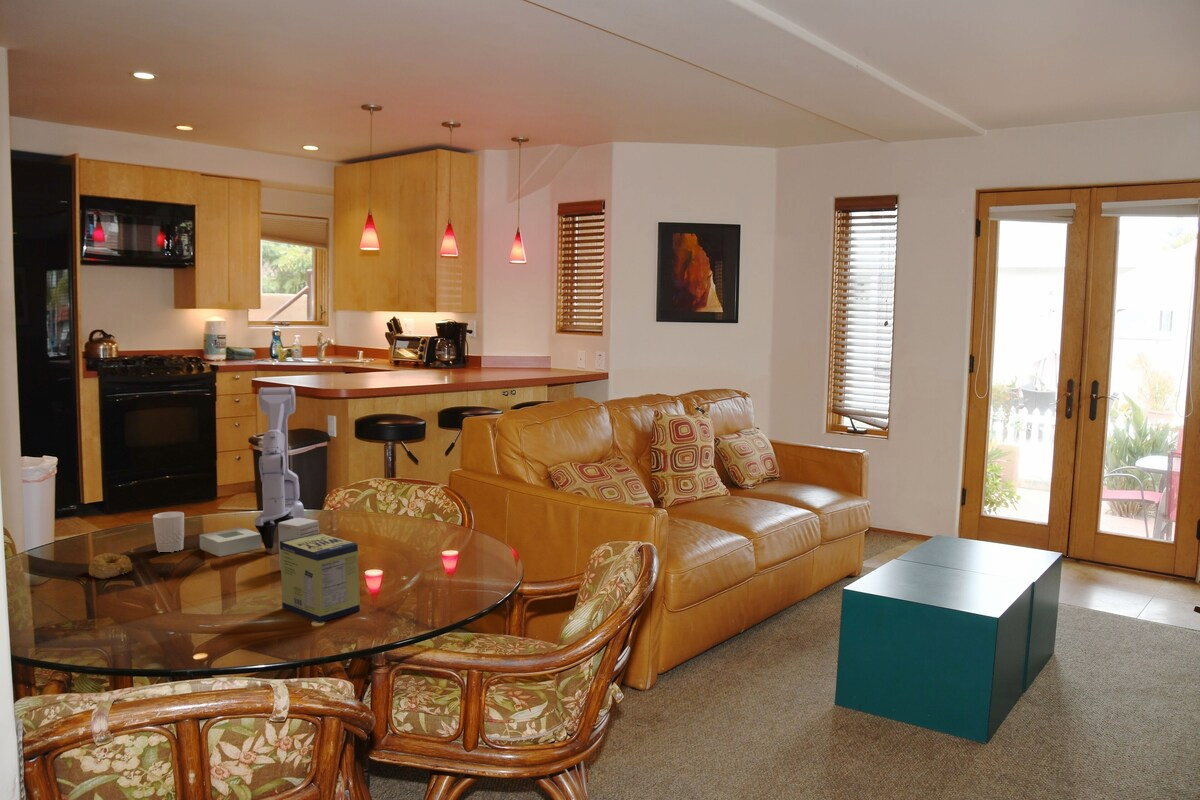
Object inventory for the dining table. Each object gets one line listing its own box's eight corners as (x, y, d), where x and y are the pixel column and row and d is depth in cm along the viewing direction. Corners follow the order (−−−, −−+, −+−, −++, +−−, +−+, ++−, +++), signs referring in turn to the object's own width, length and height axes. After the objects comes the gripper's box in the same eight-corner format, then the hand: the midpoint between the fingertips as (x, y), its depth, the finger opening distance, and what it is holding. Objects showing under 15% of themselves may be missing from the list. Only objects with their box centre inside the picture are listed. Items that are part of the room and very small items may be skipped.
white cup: (177, 553, 247) (175, 518, 246) (149, 553, 247) (147, 518, 246) (191, 546, 254) (189, 511, 253) (163, 546, 255) (161, 511, 254)
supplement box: (278, 570, 231) (276, 522, 230) (300, 563, 238) (298, 516, 237) (299, 574, 228) (297, 525, 227) (321, 567, 235) (319, 519, 233)
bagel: (82, 581, 222) (82, 562, 222) (95, 569, 233) (94, 551, 233) (127, 578, 225) (126, 560, 225) (137, 567, 236) (136, 549, 235)
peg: (278, 548, 252) (277, 524, 251) (286, 551, 249) (285, 526, 249) (265, 551, 249) (264, 526, 248) (272, 554, 246) (271, 529, 246)
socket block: (241, 540, 261) (240, 526, 260) (261, 548, 253) (261, 534, 252) (200, 548, 252) (199, 534, 251) (219, 556, 244) (219, 542, 243)
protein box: (321, 596, 211) (319, 531, 209) (361, 611, 201) (359, 543, 200) (280, 608, 203) (278, 541, 201) (320, 623, 193) (318, 553, 191)
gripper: (277, 490, 256) (279, 537, 257) (244, 501, 242) (246, 550, 243) (299, 492, 254) (300, 539, 255) (266, 503, 240) (268, 552, 241)
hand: (275, 545), depth 249 cm, fingers closed on peg, 5 cm apart
